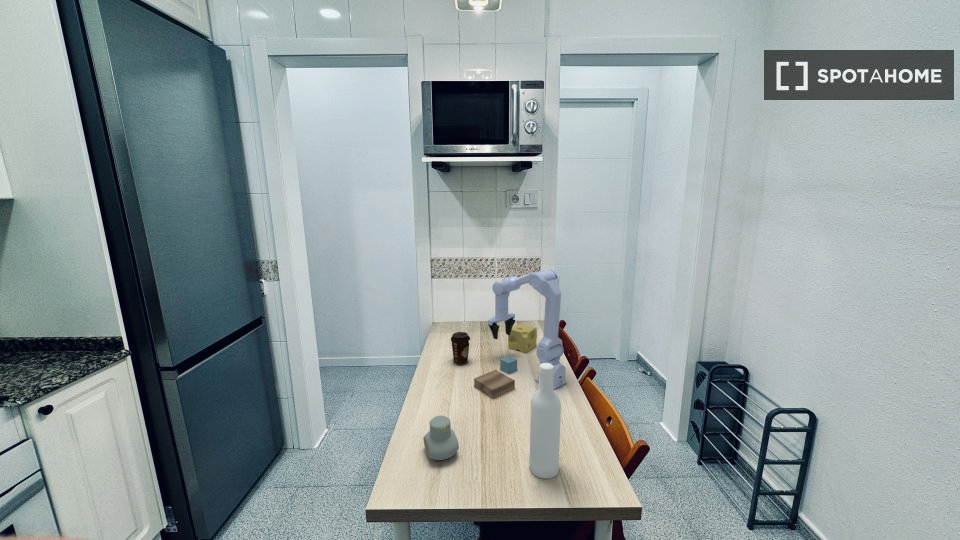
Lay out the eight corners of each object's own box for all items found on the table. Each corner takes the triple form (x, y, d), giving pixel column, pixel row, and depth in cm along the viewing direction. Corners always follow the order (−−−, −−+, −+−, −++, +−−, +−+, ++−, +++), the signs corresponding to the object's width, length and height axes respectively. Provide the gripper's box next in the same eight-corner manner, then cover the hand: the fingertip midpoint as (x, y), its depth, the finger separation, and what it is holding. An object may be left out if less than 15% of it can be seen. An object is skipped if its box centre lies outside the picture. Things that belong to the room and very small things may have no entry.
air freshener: (422, 444, 108) (420, 414, 106) (448, 437, 111) (447, 407, 109) (432, 469, 98) (431, 436, 96) (461, 460, 101) (460, 428, 99)
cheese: (526, 354, 168) (526, 333, 166) (506, 348, 175) (506, 328, 173) (537, 346, 176) (537, 327, 174) (518, 341, 183) (518, 322, 181)
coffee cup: (471, 358, 164) (471, 331, 162) (469, 366, 156) (469, 338, 153) (452, 357, 165) (452, 330, 162) (449, 366, 157) (448, 337, 154)
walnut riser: (514, 389, 138) (514, 380, 137) (492, 400, 131) (492, 390, 131) (495, 378, 146) (495, 369, 146) (474, 388, 140) (474, 378, 139)
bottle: (555, 457, 102) (558, 358, 96) (562, 479, 94) (566, 372, 88) (526, 458, 102) (528, 359, 95) (531, 480, 94) (533, 373, 88)
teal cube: (517, 370, 152) (517, 359, 151) (508, 374, 149) (508, 363, 148) (508, 366, 156) (508, 355, 155) (500, 370, 153) (500, 359, 152)
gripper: (507, 302, 167) (507, 330, 170) (483, 308, 159) (483, 337, 161) (518, 305, 162) (518, 334, 165) (493, 312, 153) (493, 342, 156)
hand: (501, 336), depth 163 cm, fingers open, 7 cm apart
